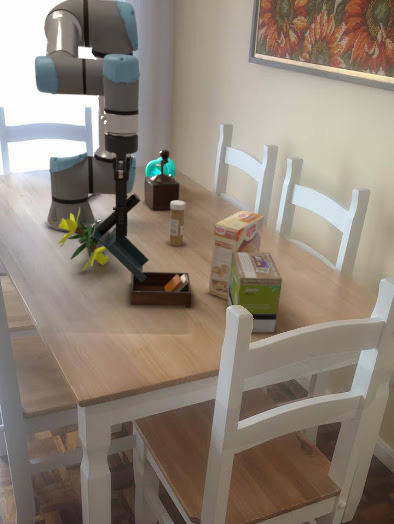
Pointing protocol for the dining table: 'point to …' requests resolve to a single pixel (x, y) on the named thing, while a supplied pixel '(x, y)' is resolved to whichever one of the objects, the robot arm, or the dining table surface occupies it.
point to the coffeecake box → (232, 247)
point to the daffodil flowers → (83, 240)
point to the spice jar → (176, 222)
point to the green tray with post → (121, 242)
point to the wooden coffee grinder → (161, 187)
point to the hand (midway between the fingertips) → (121, 233)
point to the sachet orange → (173, 284)
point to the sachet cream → (185, 282)
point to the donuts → (155, 170)
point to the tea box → (255, 288)
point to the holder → (159, 290)
